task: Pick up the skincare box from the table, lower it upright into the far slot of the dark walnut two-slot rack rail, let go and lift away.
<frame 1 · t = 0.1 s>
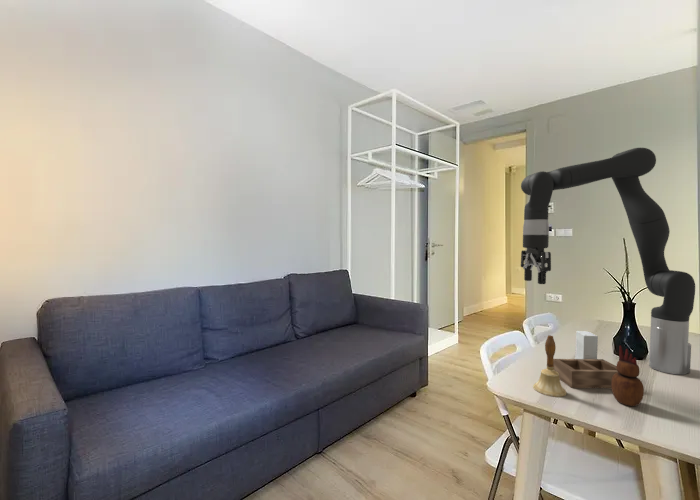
hand: (534, 282, 113), 29 cm above the table, tool pointing down, fingers open, 8 cm apart
skincare box: (585, 369, 114), on the table
hand bell: (549, 391, 97), on the table
wooden figurine: (626, 403, 90), on the table
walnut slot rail: (587, 380, 104), on the table
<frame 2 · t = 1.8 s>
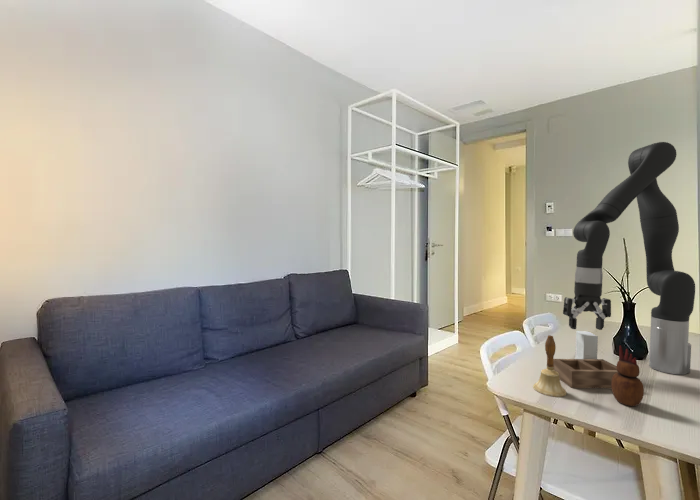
hand: (585, 329, 113), 13 cm above the table, tool pointing down, fingers open, 8 cm apart
nothing on the table moved.
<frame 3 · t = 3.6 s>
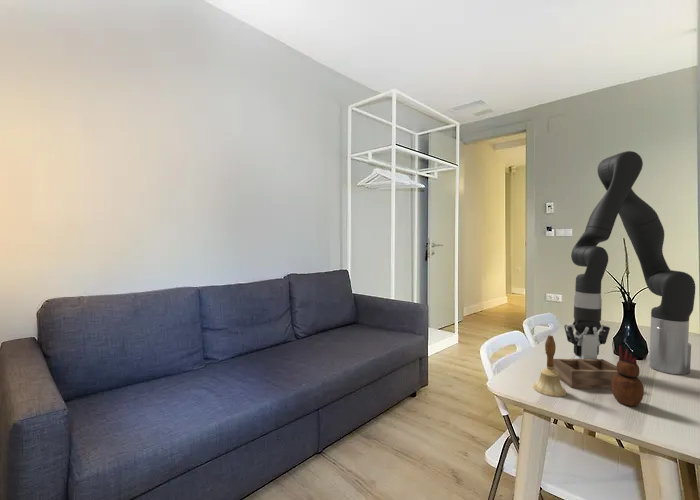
hand: (585, 355, 113), 4 cm above the table, tool pointing down, fingers closed on skincare box, 4 cm apart
skincare box: (585, 369, 114), on the table, touching gripper
everything else where it was.
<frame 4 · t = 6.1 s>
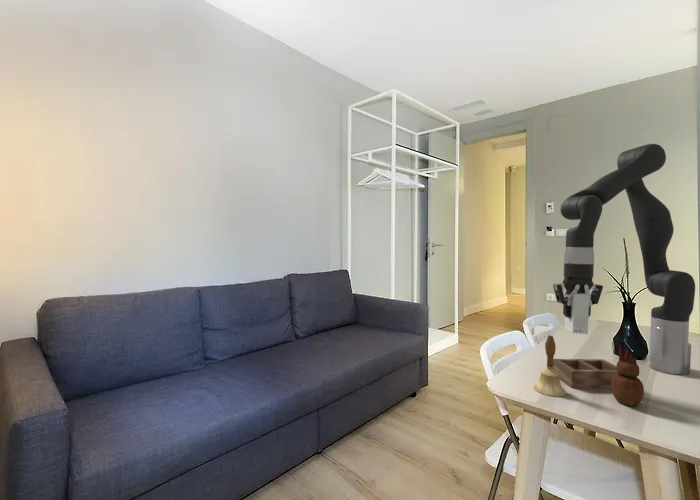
hand: (576, 317, 103), 20 cm above the table, tool pointing down, fingers closed on skincare box, 4 cm apart
skincare box: (575, 331, 104), point 15 cm above the table, touching gripper
everything else where it was.
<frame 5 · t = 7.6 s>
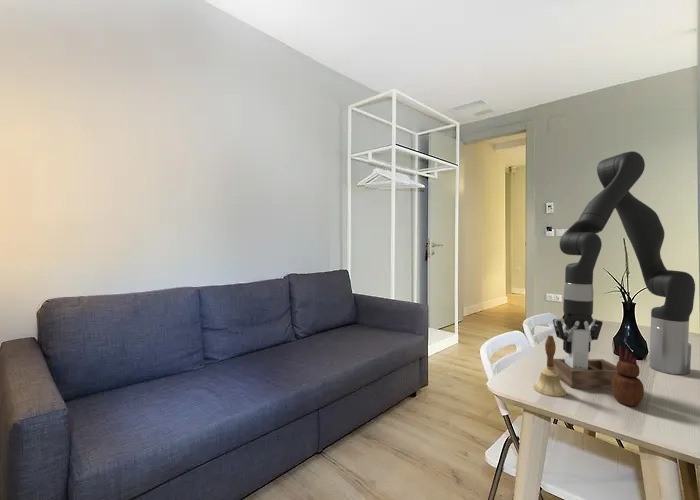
hand: (576, 352, 104), 9 cm above the table, tool pointing down, fingers closed on skincare box, 4 cm apart
skincare box: (575, 367, 104), point 4 cm above the table, touching gripper
everything else where it was.
when the fingers open (6 cm above the table, at t = 8.9 s): skincare box stays where it is, resting on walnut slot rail.
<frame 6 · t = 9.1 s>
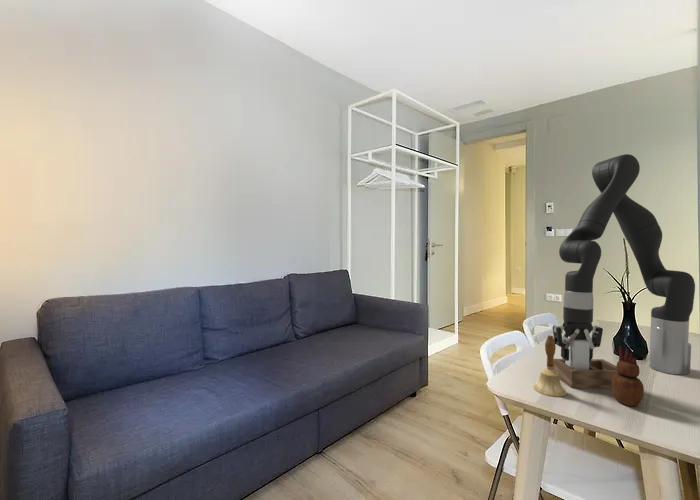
hand: (576, 359, 104), 7 cm above the table, tool pointing down, fingers open, 6 cm apart
skincare box: (576, 378, 104), point 1 cm above the table, touching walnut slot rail
everything else where it was.
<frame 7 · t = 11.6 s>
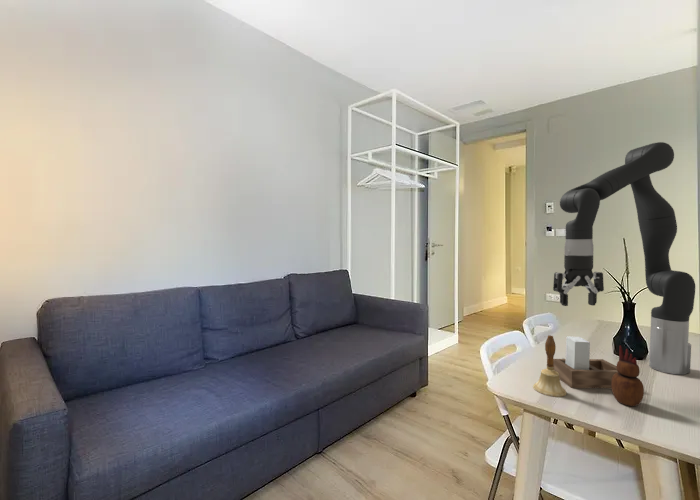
hand: (578, 305, 106), 23 cm above the table, tool pointing down, fingers open, 8 cm apart
nothing on the table moved.
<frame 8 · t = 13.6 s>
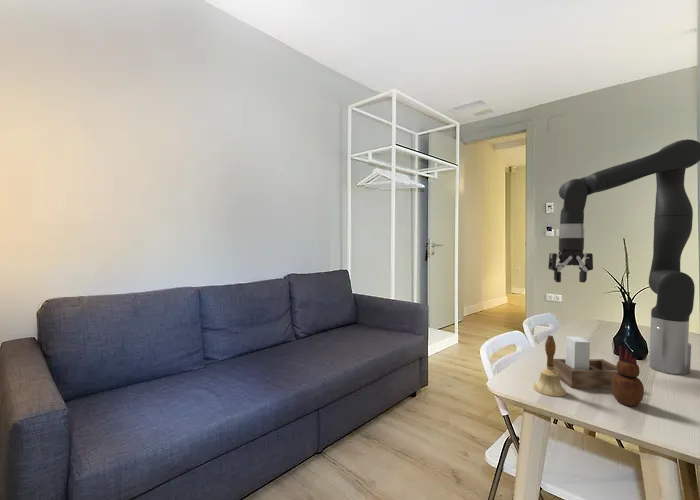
hand: (570, 282, 120), 28 cm above the table, tool pointing down, fingers open, 8 cm apart
nothing on the table moved.
at the end: skincare box 0.3 cm from the target spot on the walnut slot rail, point 0.8 cm above the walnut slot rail's base; skincare box tilted 0°; the gripper is holding nothing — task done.
